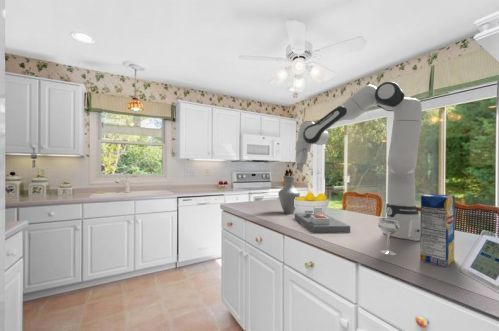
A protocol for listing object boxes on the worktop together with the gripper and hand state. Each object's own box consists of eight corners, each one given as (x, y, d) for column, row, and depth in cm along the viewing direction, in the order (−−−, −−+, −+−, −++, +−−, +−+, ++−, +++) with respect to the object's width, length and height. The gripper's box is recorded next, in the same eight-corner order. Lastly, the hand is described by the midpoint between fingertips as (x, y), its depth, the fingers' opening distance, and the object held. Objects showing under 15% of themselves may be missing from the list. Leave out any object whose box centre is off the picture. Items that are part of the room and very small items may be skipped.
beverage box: (420, 260, 80) (421, 195, 80) (429, 253, 87) (430, 193, 87) (446, 267, 75) (446, 197, 75) (454, 259, 82) (454, 195, 82)
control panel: (323, 218, 146) (323, 208, 147) (350, 232, 115) (350, 219, 115) (294, 218, 145) (294, 208, 145) (314, 232, 113) (314, 220, 113)
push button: (322, 217, 123) (322, 214, 123) (326, 220, 118) (326, 216, 118) (313, 217, 123) (313, 214, 123) (316, 220, 118) (316, 216, 118)
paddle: (320, 213, 142) (320, 206, 142) (321, 214, 140) (322, 207, 140) (313, 213, 142) (314, 206, 142) (315, 214, 140) (315, 207, 140)
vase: (302, 212, 165) (303, 176, 165) (294, 215, 153) (295, 176, 153) (283, 210, 173) (284, 175, 173) (274, 212, 161) (275, 175, 161)
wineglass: (375, 252, 87) (376, 219, 88) (380, 248, 93) (380, 217, 93) (397, 257, 83) (397, 222, 83) (400, 252, 88) (401, 219, 88)
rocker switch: (309, 213, 139) (309, 210, 139) (312, 213, 134) (312, 210, 134) (304, 213, 138) (304, 210, 139) (307, 213, 134) (307, 210, 134)
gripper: (311, 149, 134) (306, 173, 135) (305, 148, 154) (301, 169, 156) (300, 147, 134) (295, 171, 136) (295, 147, 155) (291, 167, 156)
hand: (298, 170), depth 146 cm, fingers open, 8 cm apart
